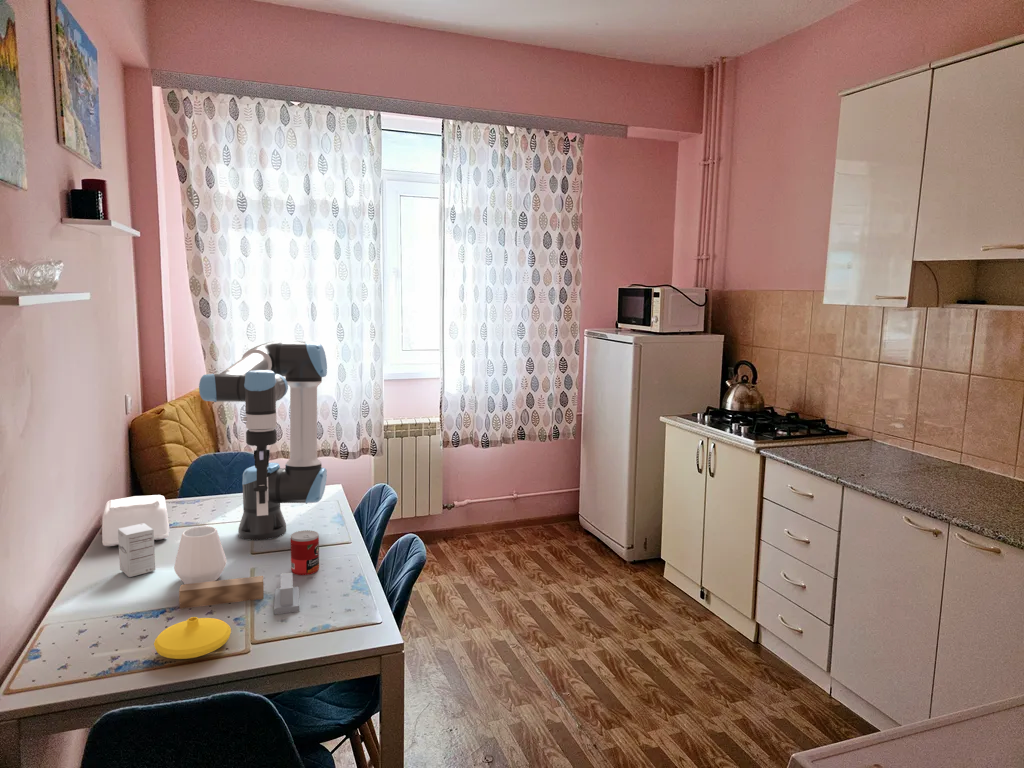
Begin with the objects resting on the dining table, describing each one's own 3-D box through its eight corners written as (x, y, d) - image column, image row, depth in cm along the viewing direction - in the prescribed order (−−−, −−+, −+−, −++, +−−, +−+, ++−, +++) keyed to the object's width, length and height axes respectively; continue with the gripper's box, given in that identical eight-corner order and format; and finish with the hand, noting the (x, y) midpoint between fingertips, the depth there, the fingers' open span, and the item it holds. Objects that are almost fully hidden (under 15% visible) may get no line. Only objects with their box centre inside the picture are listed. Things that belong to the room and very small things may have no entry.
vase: (178, 630, 158) (176, 602, 157) (243, 632, 157) (242, 604, 157) (139, 666, 142) (137, 635, 141) (211, 669, 142) (210, 638, 141)
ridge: (275, 594, 178) (274, 572, 177) (298, 591, 180) (298, 570, 179) (274, 614, 167) (273, 591, 166) (299, 611, 168) (299, 588, 168)
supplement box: (119, 570, 191) (116, 528, 189) (147, 563, 196) (145, 522, 195) (128, 578, 186) (125, 534, 184) (156, 570, 191) (154, 528, 190)
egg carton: (101, 551, 205) (98, 510, 204) (106, 522, 231) (104, 485, 230) (170, 542, 214) (168, 502, 213) (167, 515, 240) (166, 479, 239)
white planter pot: (163, 584, 183) (161, 535, 181) (201, 566, 195) (199, 520, 193) (201, 592, 178) (199, 542, 176) (237, 573, 190) (236, 527, 189)
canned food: (311, 577, 189) (310, 540, 188) (285, 574, 190) (285, 537, 189) (324, 567, 196) (323, 531, 195) (299, 564, 198) (298, 529, 197)
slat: (179, 609, 169) (178, 591, 168) (181, 603, 172) (181, 584, 172) (263, 599, 175) (262, 581, 175) (263, 593, 179) (263, 575, 178)
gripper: (247, 422, 184) (249, 496, 187) (244, 438, 161) (246, 523, 163) (276, 421, 187) (277, 494, 189) (276, 436, 164) (278, 520, 166)
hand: (262, 507), depth 176 cm, fingers open, 13 cm apart
